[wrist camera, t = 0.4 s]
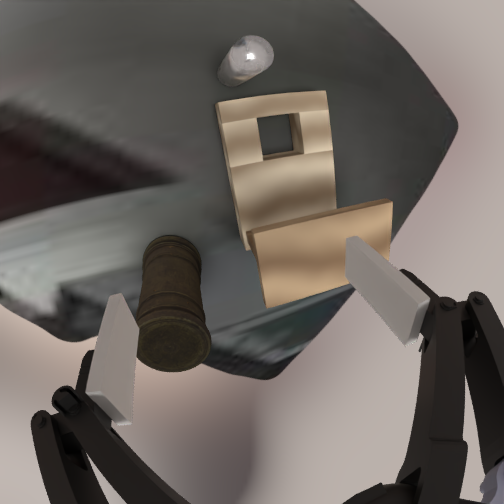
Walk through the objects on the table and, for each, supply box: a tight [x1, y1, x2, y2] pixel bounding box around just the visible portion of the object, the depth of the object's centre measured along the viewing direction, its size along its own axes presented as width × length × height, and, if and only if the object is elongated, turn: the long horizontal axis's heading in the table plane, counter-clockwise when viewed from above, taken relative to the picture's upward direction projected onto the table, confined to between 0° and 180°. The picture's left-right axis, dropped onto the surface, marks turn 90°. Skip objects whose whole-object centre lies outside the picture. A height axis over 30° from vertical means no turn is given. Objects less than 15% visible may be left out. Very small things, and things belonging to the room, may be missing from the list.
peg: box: [217, 35, 274, 87], centre depth 26 cm, size 4×4×12 cm
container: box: [136, 236, 211, 372], centre depth 34 cm, size 9×9×18 cm
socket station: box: [215, 91, 393, 308], centre depth 32 cm, size 20×15×16 cm
